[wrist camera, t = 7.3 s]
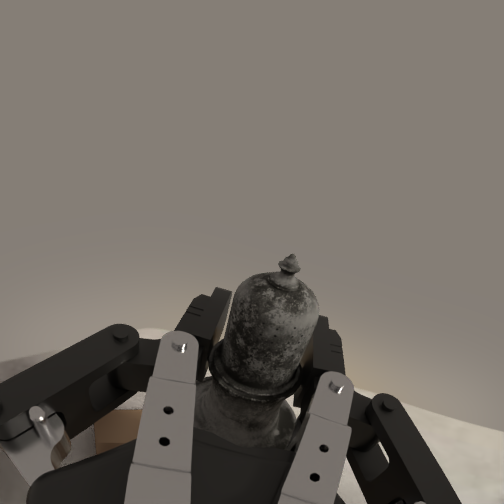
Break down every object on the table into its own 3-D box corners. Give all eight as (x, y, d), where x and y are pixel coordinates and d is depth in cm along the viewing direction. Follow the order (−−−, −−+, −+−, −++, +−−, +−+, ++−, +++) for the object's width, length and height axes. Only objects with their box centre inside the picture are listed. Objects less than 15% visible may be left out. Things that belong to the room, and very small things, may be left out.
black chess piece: (152, 427, 14) (164, 217, 10) (241, 401, 18) (300, 217, 13) (202, 516, 10) (275, 340, 5) (298, 471, 14) (416, 291, 9)
